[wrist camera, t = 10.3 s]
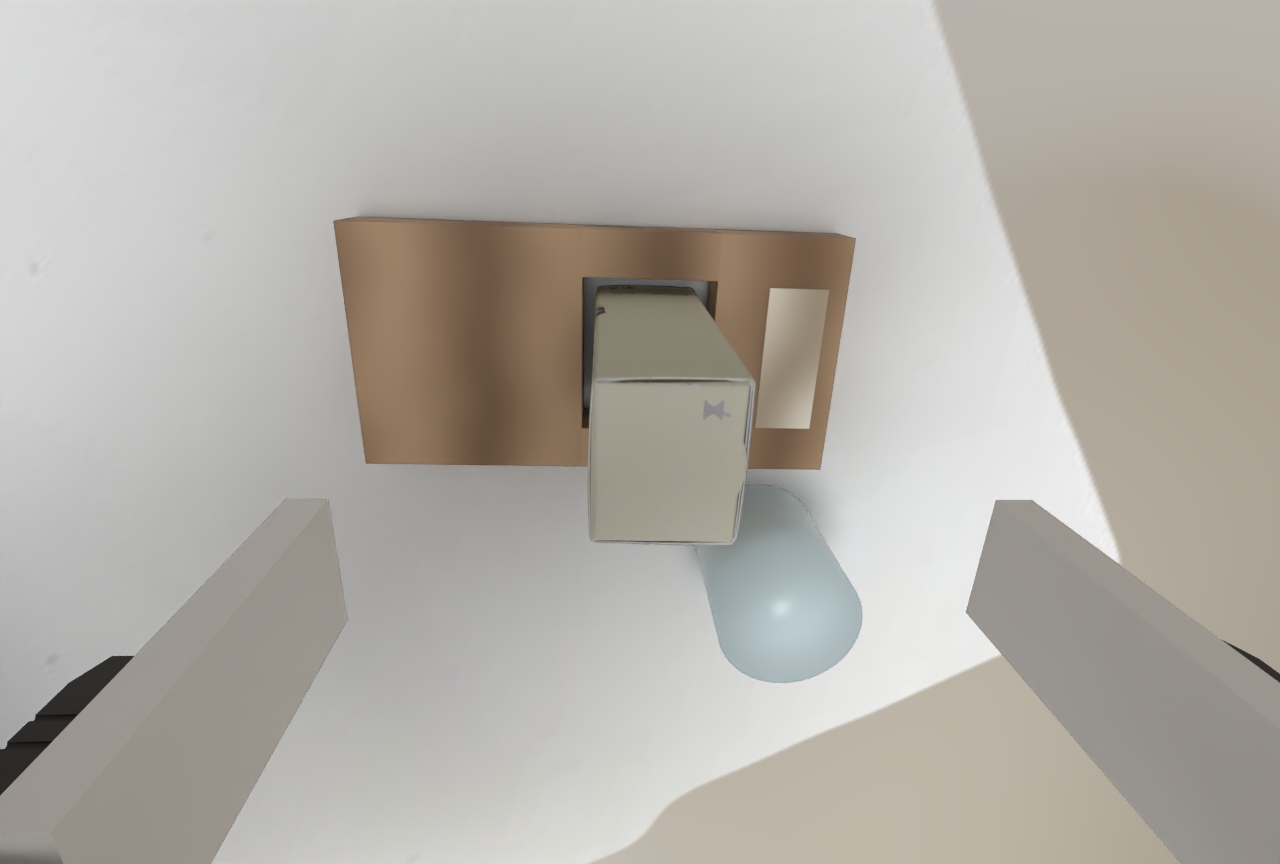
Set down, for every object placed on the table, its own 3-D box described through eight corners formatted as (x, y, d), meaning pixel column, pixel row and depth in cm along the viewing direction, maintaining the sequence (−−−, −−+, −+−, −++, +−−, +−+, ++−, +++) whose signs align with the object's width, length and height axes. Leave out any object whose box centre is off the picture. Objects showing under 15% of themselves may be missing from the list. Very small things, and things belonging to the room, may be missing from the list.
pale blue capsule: (693, 588, 34) (714, 685, 27) (696, 486, 32) (720, 565, 25) (805, 584, 34) (853, 680, 28) (816, 483, 32) (871, 560, 25)
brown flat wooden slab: (383, 442, 30) (365, 464, 28) (356, 216, 26) (332, 220, 24) (804, 448, 31) (820, 470, 29) (835, 233, 27) (856, 238, 25)
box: (595, 283, 28) (586, 364, 16) (696, 286, 28) (762, 369, 16) (593, 398, 30) (584, 549, 18) (687, 401, 30) (741, 551, 18)
